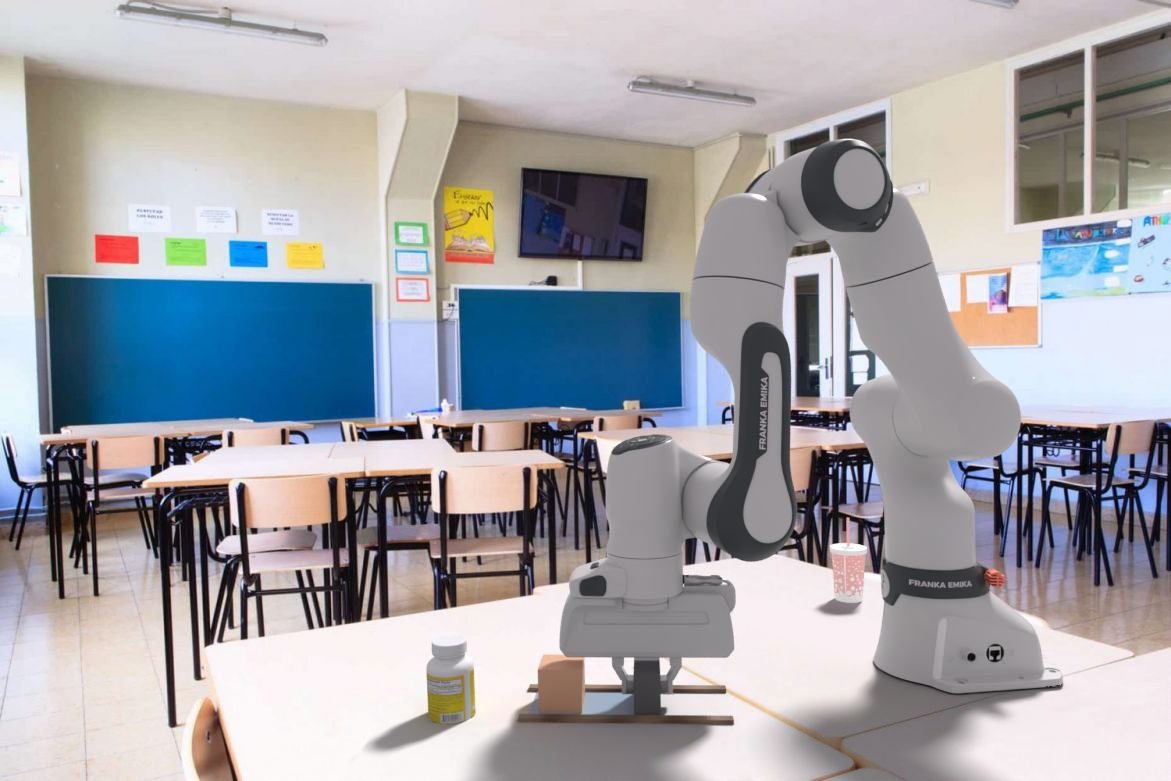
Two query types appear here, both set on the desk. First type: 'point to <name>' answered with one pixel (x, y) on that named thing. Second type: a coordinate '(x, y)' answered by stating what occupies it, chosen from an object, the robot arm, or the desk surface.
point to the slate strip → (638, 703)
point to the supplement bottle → (450, 681)
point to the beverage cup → (848, 570)
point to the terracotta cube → (561, 684)
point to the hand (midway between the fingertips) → (647, 692)
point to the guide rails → (633, 718)
